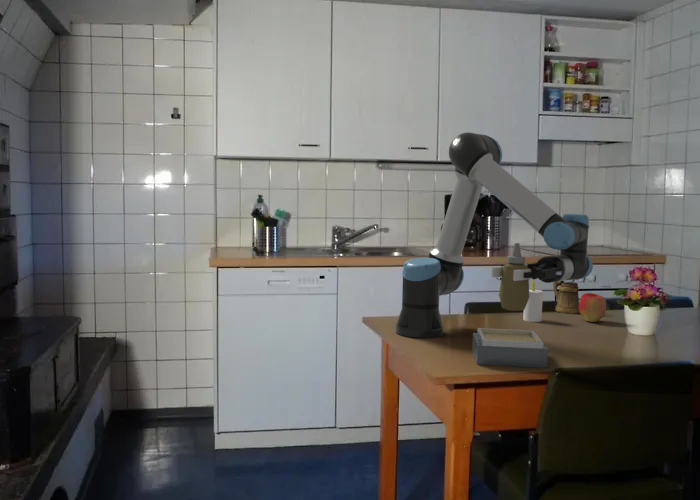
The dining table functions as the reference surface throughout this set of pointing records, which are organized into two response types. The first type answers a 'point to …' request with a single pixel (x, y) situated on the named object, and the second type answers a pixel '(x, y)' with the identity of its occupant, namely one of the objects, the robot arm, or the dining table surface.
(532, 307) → the candle
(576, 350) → the dining table surface
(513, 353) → the square box
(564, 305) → the wooden mug
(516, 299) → the squeeze bottle
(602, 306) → the apple
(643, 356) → the dining table surface
